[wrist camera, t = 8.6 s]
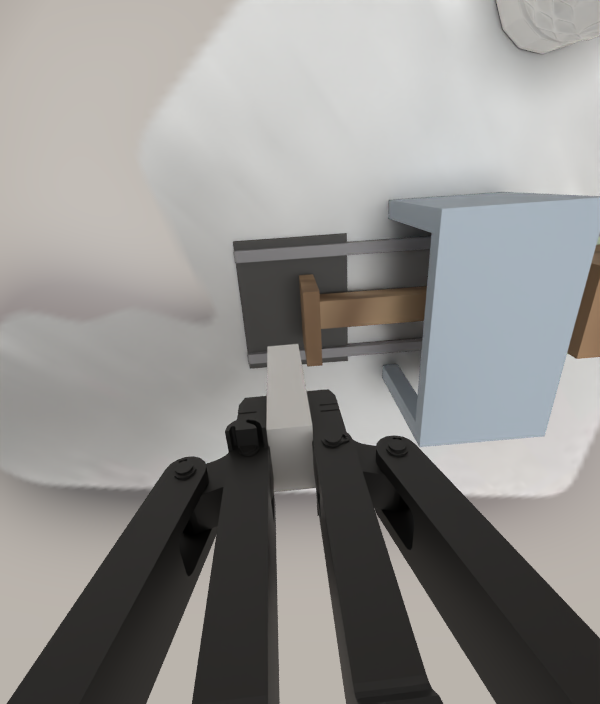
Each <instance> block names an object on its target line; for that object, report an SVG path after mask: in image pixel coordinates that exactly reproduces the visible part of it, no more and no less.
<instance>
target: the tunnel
mask: <svg viewBox="0 0 600 704" xmlns="http://www.w3.org/2000/svg"><path fill="white" fill-rule="evenodd" d="M388 219H391V220H394V221H397V222H400V223H403V224H407V225H410V226H413V227H416V228H419V229H422V230H425V231H428V232H431V233H432V235H431V236H424V237H410V238H396V239H383V240H369V241H355V242H347V243H334V244H320V245H306V246H293V247H279V248H265V249H251V250H237V251H234V258H235V263H246V262H259V261H273V260H286V259H300V258H314V257H327V256H341V255H354V254H368V253H382V252H395V251H409V250H422V249H430V258H429V270H428V281H427V293H426V305H425V316H424V328H423V338H418V339H405V340H392V341H380V342H367V343H354V344H348V345H342V346H330V347H322V358H332V357H344V356H357V355H369V354H382V353H394V352H407V351H419V350H422V351H421V363H420V375H419V386H418V395H417V394H416V392H415V391H414V389H413V388H412V386H411V384H410V383H409V381H408V380H407V378H406V377H405V375H404V374H403V372H402V371H401V369H400V368H399V366H398V365H397V364H393V365H383V377H382V378H383V380H384V382H385V384H386V385H387V387H388V389H389V391H390V393H391V395H392V397H393V398H394V400H395V402H396V404H397V406H398V408H399V410H400V412H401V413H402V415H403V417H404V419H405V421H406V423H407V425H408V427H409V428H410V430H411V432H412V434H413V436H414V438H415V440H416V441H417V443H418V445H419V447H426V446H438V445H449V444H461V443H473V442H484V441H496V440H507V439H519V438H530V437H542V436H545V432H546V429H547V425H548V421H549V418H550V414H551V410H552V407H553V403H554V399H555V396H556V392H557V388H558V384H559V381H560V377H561V373H562V370H563V366H564V362H565V359H566V355H567V351H568V348H569V344H570V340H571V336H572V333H573V329H574V325H575V322H576V318H577V314H578V311H579V307H580V303H581V300H582V296H583V292H584V288H585V285H586V281H587V277H588V274H589V270H590V266H591V263H592V259H593V255H594V252H595V248H596V244H597V241H598V237H599V236H600V196H578V195H556V194H534V193H512V192H498V193H483V194H469V195H455V196H441V197H426V198H412V199H398V200H389V217H388ZM299 351H300V357H301V360H306V355H305V349H299ZM248 362H249V364H257V363H267V352H254V353H248Z"/></svg>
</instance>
